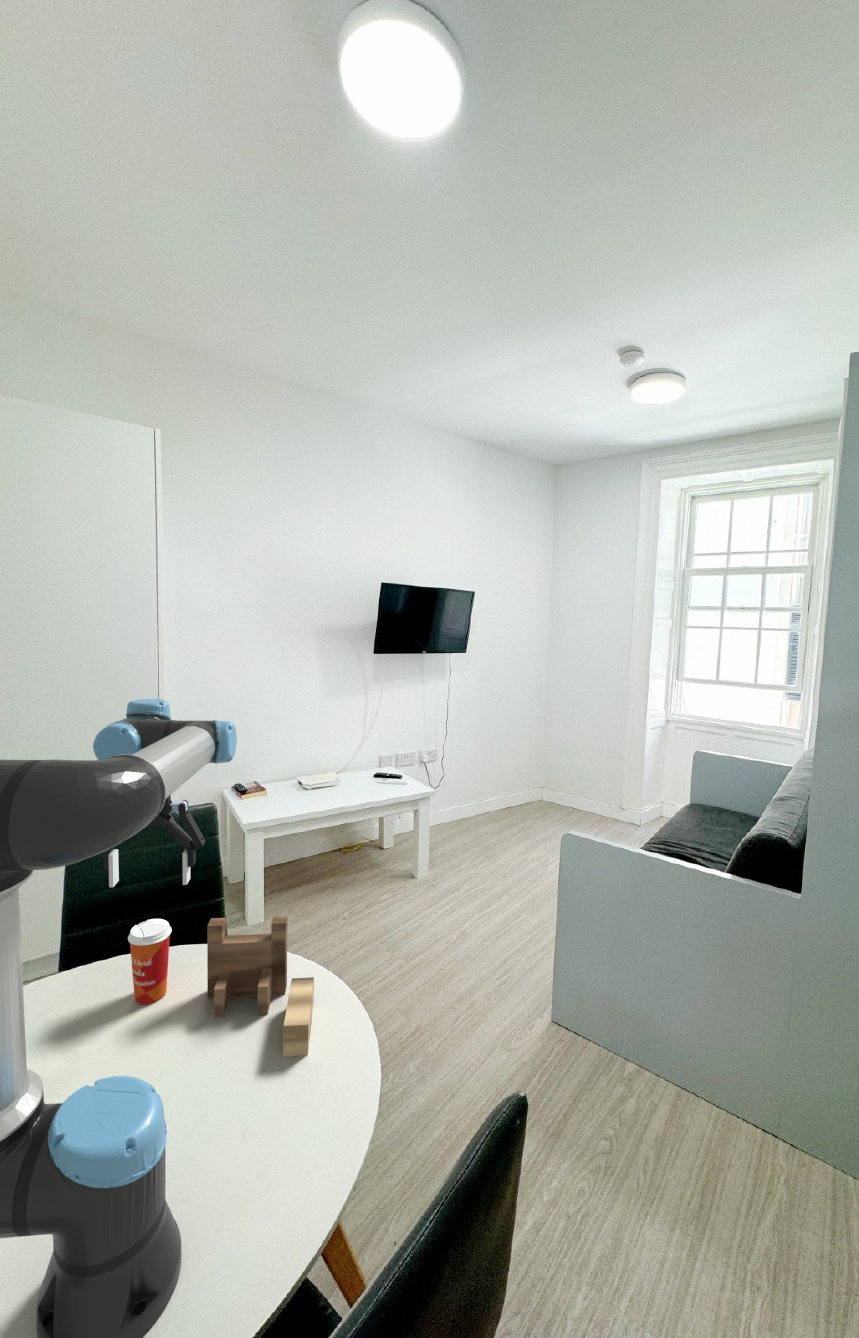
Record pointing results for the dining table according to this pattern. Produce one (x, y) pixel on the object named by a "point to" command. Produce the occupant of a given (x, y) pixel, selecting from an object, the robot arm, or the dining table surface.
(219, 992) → the brown notched piece
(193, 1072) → the dining table surface
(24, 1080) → the robot arm
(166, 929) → the coffee cup
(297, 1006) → the tan wooden block
